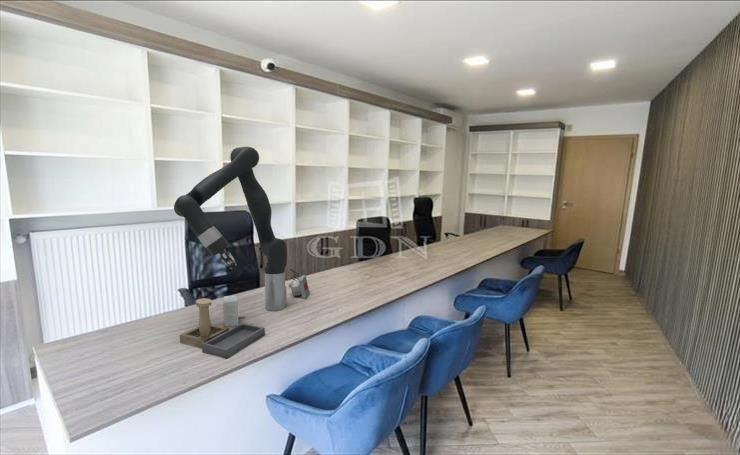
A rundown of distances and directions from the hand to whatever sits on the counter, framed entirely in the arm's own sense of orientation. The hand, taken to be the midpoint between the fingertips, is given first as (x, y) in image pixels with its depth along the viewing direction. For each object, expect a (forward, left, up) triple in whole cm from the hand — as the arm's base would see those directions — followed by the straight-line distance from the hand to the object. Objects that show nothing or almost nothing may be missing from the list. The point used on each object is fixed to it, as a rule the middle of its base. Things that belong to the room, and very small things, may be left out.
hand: (240, 273), depth 140 cm
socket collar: (+12, -6, -23) cm, 27 cm away
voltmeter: (-50, -7, -23) cm, 55 cm away
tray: (+10, +6, -23) cm, 26 cm away
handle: (+12, -6, -23) cm, 27 cm away
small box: (-4, -9, -23) cm, 25 cm away
